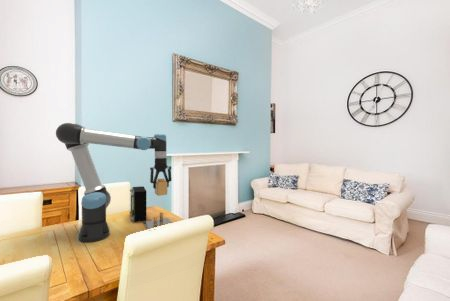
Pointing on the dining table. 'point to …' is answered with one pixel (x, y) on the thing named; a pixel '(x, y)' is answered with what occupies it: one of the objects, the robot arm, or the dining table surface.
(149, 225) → the plate
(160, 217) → the brass rounded peg
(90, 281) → the dining table surface
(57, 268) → the dining table surface
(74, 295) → the dining table surface
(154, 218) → the amber glass cylinder
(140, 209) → the electrical component
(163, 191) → the cube with dome knob
